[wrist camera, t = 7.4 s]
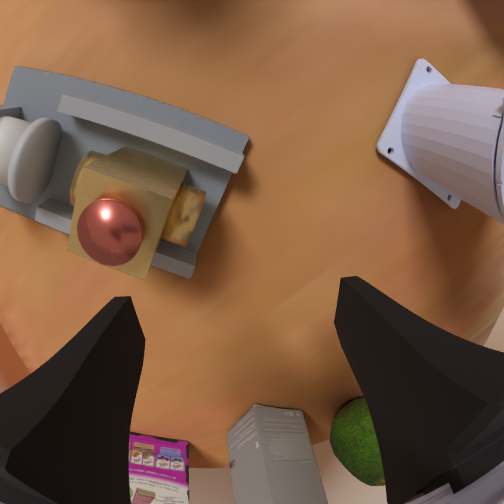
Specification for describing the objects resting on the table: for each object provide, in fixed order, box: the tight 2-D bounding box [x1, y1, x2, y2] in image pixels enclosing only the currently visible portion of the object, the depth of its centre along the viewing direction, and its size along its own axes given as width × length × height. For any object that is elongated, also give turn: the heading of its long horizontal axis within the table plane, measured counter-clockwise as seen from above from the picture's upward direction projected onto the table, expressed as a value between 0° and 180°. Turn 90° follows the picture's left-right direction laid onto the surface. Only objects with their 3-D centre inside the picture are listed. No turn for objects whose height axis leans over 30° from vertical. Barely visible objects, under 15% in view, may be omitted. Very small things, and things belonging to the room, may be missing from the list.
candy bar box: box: [129, 432, 189, 504], centre depth 24 cm, size 11×5×16 cm, turn 74°
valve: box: [67, 146, 206, 280], centre depth 14 cm, size 7×4×7 cm, turn 65°
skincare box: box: [227, 404, 328, 504], centre depth 24 cm, size 8×7×16 cm
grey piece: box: [0, 66, 249, 279], centre depth 14 cm, size 17×10×5 cm, turn 65°
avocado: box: [330, 398, 385, 486], centre depth 26 cm, size 8×8×12 cm
